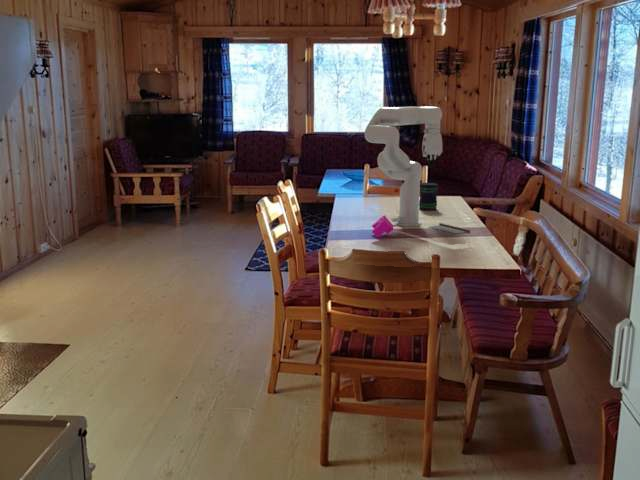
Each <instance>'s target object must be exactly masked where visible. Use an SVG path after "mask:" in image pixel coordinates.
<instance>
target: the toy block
mask: <svg viewBox="0 0 640 480" xmlns="http://www.w3.org/2000/svg"><path fill="white" fill-rule="evenodd" d="M371 228H373V229H372V230H371V232H372V234H373V235H374V236H375V237H376V238H379V237H380V236H381V235H383V234H384V233H386V234H387V235H388V234H390V233H391V232H392V231H393V230H394V225H393V222H392V221H390V220H389V219H388V217H387V216H386V215H385V214H383V215H382V216H381V217H380V218H379V219H378V220H376V221H375V222H374V223H373V224H372V225H371Z"/></svg>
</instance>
